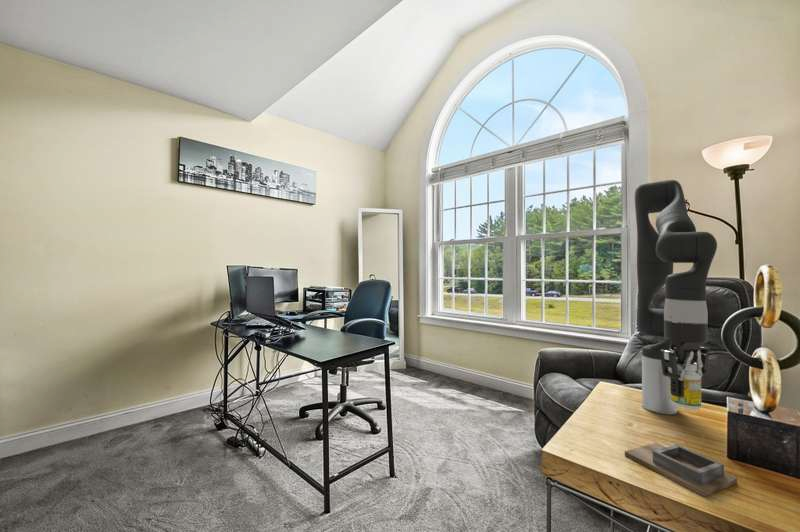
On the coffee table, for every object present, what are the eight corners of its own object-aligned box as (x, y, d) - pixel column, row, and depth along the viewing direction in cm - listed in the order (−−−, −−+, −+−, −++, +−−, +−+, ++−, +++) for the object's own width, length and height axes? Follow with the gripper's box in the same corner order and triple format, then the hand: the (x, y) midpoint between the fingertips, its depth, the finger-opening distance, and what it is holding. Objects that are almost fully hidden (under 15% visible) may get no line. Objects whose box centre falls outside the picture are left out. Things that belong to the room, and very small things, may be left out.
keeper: (656, 446, 86) (656, 432, 86) (736, 483, 71) (736, 466, 71) (624, 455, 82) (624, 441, 82) (704, 496, 67) (704, 479, 67)
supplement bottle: (708, 410, 72) (708, 366, 72) (683, 409, 72) (683, 365, 73) (687, 400, 78) (687, 359, 78) (663, 400, 78) (663, 359, 78)
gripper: (685, 316, 81) (685, 385, 81) (646, 318, 76) (646, 392, 76) (724, 320, 74) (724, 396, 74) (684, 323, 69) (685, 404, 69)
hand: (685, 394), depth 75 cm, fingers closed on supplement bottle, 5 cm apart
